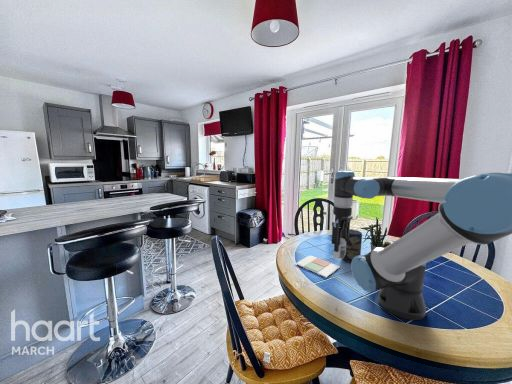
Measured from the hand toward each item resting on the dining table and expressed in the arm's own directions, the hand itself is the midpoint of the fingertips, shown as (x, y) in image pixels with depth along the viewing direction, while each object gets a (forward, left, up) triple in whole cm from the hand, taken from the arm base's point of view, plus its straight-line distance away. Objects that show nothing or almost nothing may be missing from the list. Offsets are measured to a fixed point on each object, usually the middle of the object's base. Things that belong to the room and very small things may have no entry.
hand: (339, 255), depth 95 cm
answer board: (+14, -5, -13) cm, 19 cm away
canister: (+5, -25, -13) cm, 28 cm away
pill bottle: (0, 0, -1) cm, 1 cm away
